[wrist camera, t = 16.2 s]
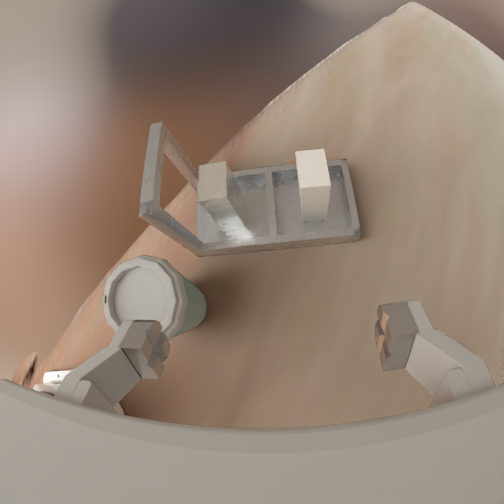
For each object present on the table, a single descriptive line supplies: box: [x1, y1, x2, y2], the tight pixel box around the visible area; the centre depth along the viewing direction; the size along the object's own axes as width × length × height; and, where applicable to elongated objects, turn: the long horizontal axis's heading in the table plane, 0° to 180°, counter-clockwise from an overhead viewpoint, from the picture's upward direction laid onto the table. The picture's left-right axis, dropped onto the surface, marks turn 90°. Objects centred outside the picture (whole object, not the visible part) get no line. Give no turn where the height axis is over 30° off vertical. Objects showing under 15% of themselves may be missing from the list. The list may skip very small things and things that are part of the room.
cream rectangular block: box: [295, 149, 331, 222], centre depth 38 cm, size 4×5×11 cm
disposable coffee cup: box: [103, 255, 207, 340], centre depth 37 cm, size 11×11×15 cm
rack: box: [139, 122, 361, 257], centre depth 37 cm, size 24×12×18 cm, turn 94°
